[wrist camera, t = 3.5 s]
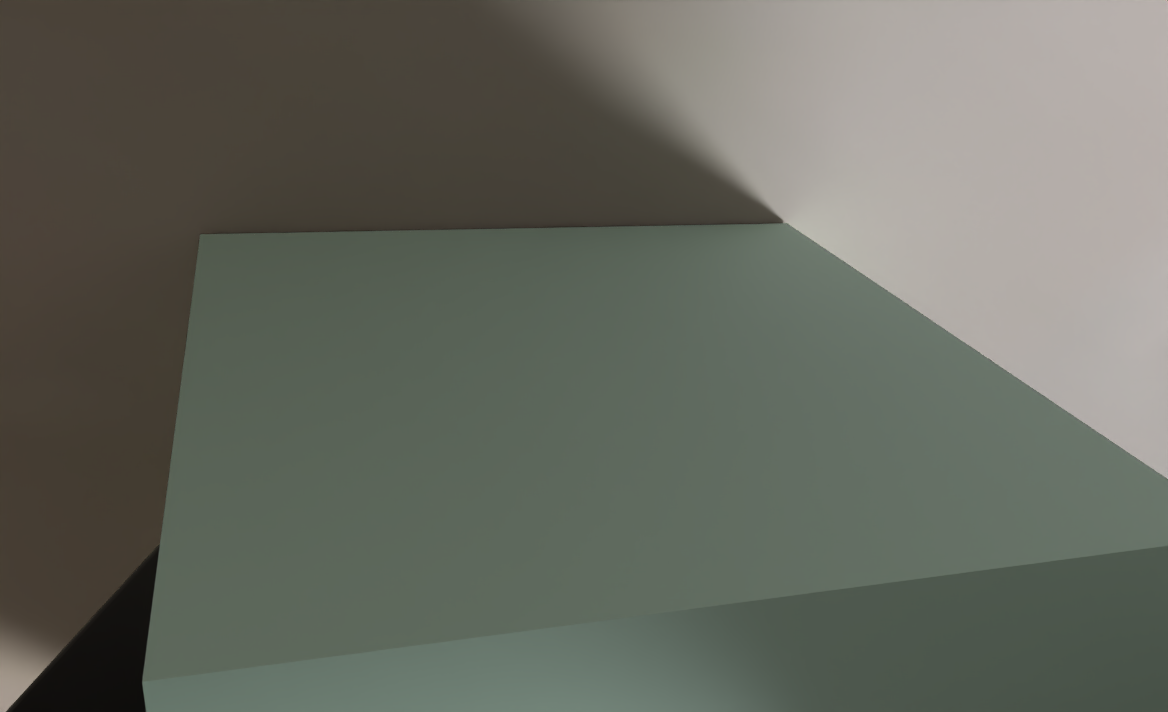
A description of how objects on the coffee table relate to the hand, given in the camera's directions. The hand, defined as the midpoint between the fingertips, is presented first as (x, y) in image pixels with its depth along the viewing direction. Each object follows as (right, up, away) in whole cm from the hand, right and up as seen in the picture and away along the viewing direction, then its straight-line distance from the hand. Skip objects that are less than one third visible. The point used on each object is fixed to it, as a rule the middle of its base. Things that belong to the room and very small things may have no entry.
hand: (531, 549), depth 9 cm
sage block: (0, 0, +1) cm, 1 cm away
